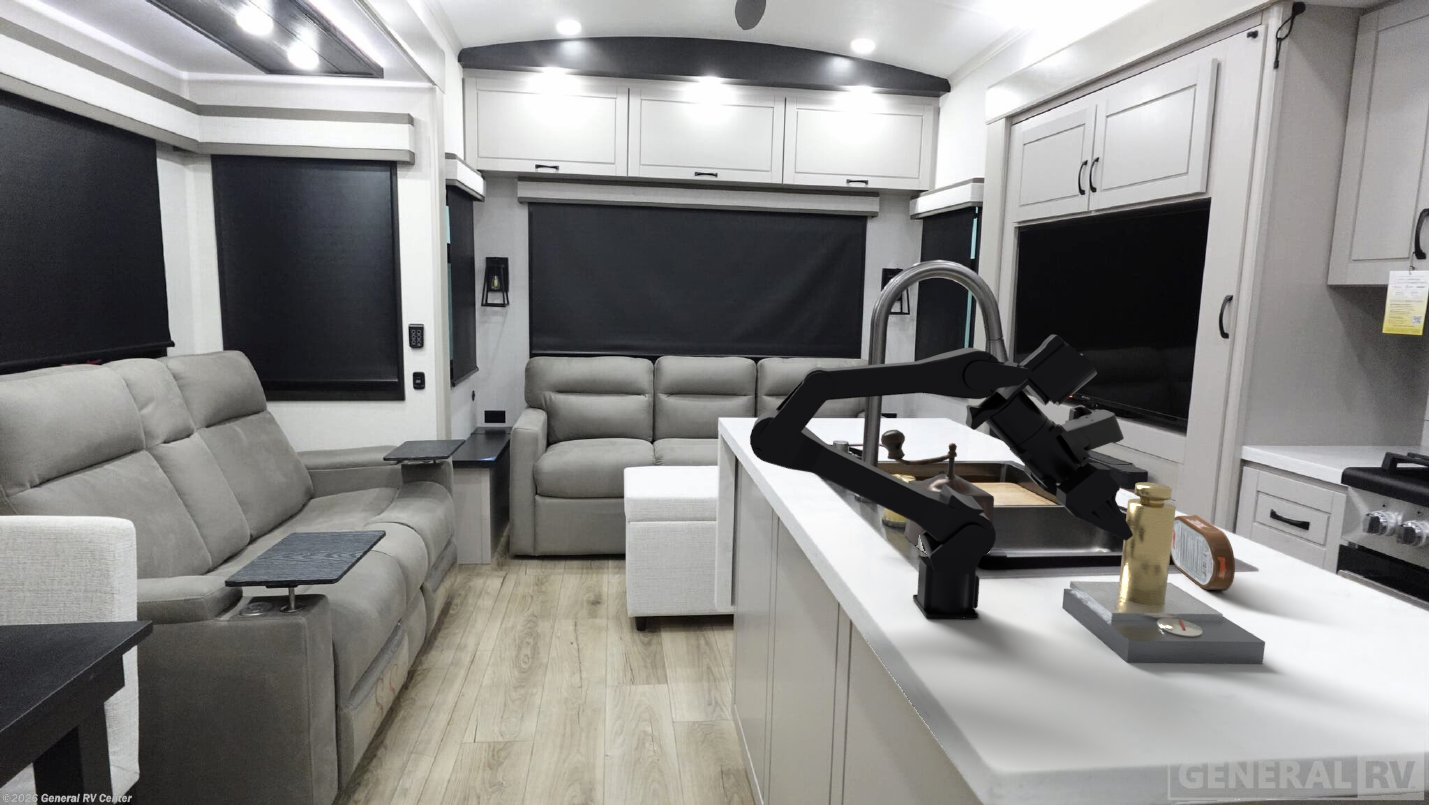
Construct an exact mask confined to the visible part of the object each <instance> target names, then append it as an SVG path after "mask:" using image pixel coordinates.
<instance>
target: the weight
mask: <svg viewBox="0 0 1429 805" xmlns="http://www.w3.org/2000/svg"><path fill="white" fill-rule="evenodd" d="M1172 490H1173V488H1172V487H1171V486H1169V485H1166V484H1161V483H1157V482H1147V481H1146V482H1145V481H1142V482H1137V483H1135V486H1134V495H1135V497H1136V496H1137V497H1139V498H1130V499H1128V500H1127V508H1126V518H1125V520H1126V522H1127V524H1128V525H1129V527H1130V529H1131V531H1132V533H1133V536H1132V537H1131V538H1129V539H1128V540H1123V544H1122V555H1121V563H1120V574H1119V581H1118V582H1119V590H1118V593H1119V595H1120V596H1121V597H1123V598H1125V599H1127V600H1130V601H1133V602H1136V603H1141V604H1147V605H1160V604H1163V603H1164V602H1165V597H1166V588H1167V582H1168V578H1169V570H1170V560H1171V545H1172V537H1173V528H1174V519H1175V517H1176V510H1177V509H1176V508H1177V507H1176V506H1175V505H1173V504H1171V503H1169V502H1166V501H1170V500H1171V499H1172V494H1173V492H1172Z"/></svg>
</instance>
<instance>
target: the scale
mask: <svg viewBox="0 0 1429 805" xmlns="http://www.w3.org/2000/svg"><path fill="white" fill-rule="evenodd" d="M1118 590H1119V581H1084V580H1083V581H1079V580H1078V581H1076V580H1074V581H1070V583H1069V588H1063V595H1062V609H1063V610H1065V611H1066V612H1067V613H1068V614H1069V615H1071V616H1072V617H1073V618H1074V619H1075V620H1076V621H1078V622H1079V623H1080V624H1082V625H1083V627H1085V628H1086V629H1087V630H1088V631H1089V632H1091V633H1092V634H1093V635H1094V636H1095V637H1096V638H1097V639H1099V640H1100V641H1101V642H1103V644H1104V645H1106V646H1107V647H1108V648H1109V649H1110V650H1112V651H1113V652H1114V653H1115V654H1116V655H1118V656H1119V657H1120V658H1121V659H1122V660H1124V661H1125V662H1126V663H1148V664H1149V663H1150V664H1151V663H1152V664H1153V663H1155V664H1157V663H1158V664H1161V663H1162V664H1163V663H1166V664H1179V663H1180V664H1243V665H1244V664H1247V665H1248V664H1249V665H1250V664H1251V665H1253V664H1257V665H1258V664H1259V665H1261V664H1262V665H1263V662H1264V656H1265V648H1266V646H1265V645H1266V641H1264V640H1263V639H1261V638H1259V637H1258V636H1257V635H1255V634H1253V633H1252V632H1249V631H1248V630H1246V629H1245V628H1244V627H1241V626H1240V625H1239V624H1236V623H1235V622H1233V621H1232V620H1231V619H1228V618H1226V617H1225V616H1224V614H1223V613H1222V612H1220V611H1218V610H1217V609H1215V608H1213V607H1212V606H1210V605H1209V604H1207V603H1206V602H1204V601H1202V600H1200V599H1199V598H1197V597H1195V596H1193V595H1192V594H1190V593H1189V592H1187V591H1185V590H1184V589H1182V588H1180V587H1179V586H1177V585H1175V584H1174V583H1173V582H1168V581H1167V588H1166V597H1165V602H1164V603H1163V604H1160V605H1147V604H1141V603H1136V602H1133V601H1130V600H1127V599H1125V598H1123V597H1121V596H1120V595H1119V593H1118Z"/></svg>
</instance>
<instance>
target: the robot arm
mask: <svg viewBox="0 0 1429 805" xmlns="http://www.w3.org/2000/svg"><path fill="white" fill-rule="evenodd" d="M1097 374H1098V372H1097V369H1096V367H1095V366H1094V365H1093V364H1092V363H1091V361H1090V360H1089V358H1087V356H1086V355H1084V354H1083V353H1080V352H1079V351H1078V350H1076V349H1075V348H1074V347H1073V346H1071V344H1069V343H1067V342H1066V341H1065V340H1063V339H1062V337H1060V335H1057V334H1050V335H1049V336H1048V337H1047V338H1046V339H1044V341H1043V342H1042V343H1041V345H1040V346H1039V347H1038V348H1037V349H1035V351H1033V352H1031V354H1029V356H1027V357H1026V358H1025V359H1024V360H1023V361H1021V362H1020V363H1018V362H1013V361H1011V360H1007V361H1006V362H1004V361H1000V360H999V359H998V358H997V357H996V356H995V355H994V354H992V353H990V352H988V351H984V350H981V349H979V348H975V347H974V348H973V347H964V348H959V349H956V350H951V351H947V352H944V353H940V354H937V355H933V356H931V357H927V358H923V359H920V360H916V361H906V362H894V363H892V362H891V363H880V364H869V365H868V364H867V365H856V366H855V365H854V366H842V367H832V368H831V367H829V368H828V367H827V368H826V367H822V366H821V367H819V366H818V367H812V368H810V369H809V370H807V372H806V373H805V374H804V376H803V378H802V380H801V381H800V382H799V383H798V384H797V385H796V386H795V387H794V388H793V389H792V390H791V392H790V393H789V394H788V395H787V396H786V397H785V398H784V399H783V400H782V401H781V402H780V404H779V405H778V406H777V407H776V408H775V409H771V410H767V411H765V412H763V413H762V414H760V415H759V416H758V417H757V419H756V420H755V421H754V424H753V427H752V429H751V432H750V436H749V443H750V446H751V450H752V452H753V454H754V455H755V456H756V458H758V459H759V460H761V461H762V462H765V463H768V464H771V465H774V466H777V467H781V468H784V469H789V470H792V471H793V470H794V471H798V472H805V473H811V474H814V475H816V476H818V477H820V478H822V479H825V480H827V481H828V482H831V483H833V484H835V485H837V486H839V487H841V488H843V489H845V490H848V491H849V492H851V493H854V494H856V495H858V496H859V497H862V498H864V499H865V500H868V501H870V502H873V503H874V504H876V505H879V506H880V507H882V508H884V509H887V510H889V511H891V512H893V513H895V514H897V515H899V516H901V517H903V518H905V519H906V518H907V519H909V520H911V521H913V522H915V523H916V524H918V525H919V526H920V527H921V528H922V529H924V530H925V531H924V532H923V533H922V534H921V535H920V539H921V542H922V546H923V549H924V551H926V553H927V554H926V556H919V559H918V560H919V562H918V575H917V576H918V578H917V579H918V580H917V593H916V594H912V599H913V601H914V602H915V604H916V605H917V606H918V608H919V609H920V611H921V612H922V614H923V615H924V617H926V618H928V619H979V613H978V612H977V610H976V609H977V608H978V606H979V594H980V593H979V592H980V591H979V590H980V577H979V576H978V574H977V567H978V566H979V564H980V562H981V560H982V558H983V557H984V556H985V554H986V555H988V554H987V553H988V552H989V551H990V550H991V551H992V548H994V545H995V543H996V539H997V538H996V537H997V536H996V534H997V533H996V530H995V529H996V528H995V526H994V524H992V523H991V522H990V520H989V519H988V518H987V517H986V516H985V514H984V513H983V512H984V510H983V509H982V508H981V507H980V506H979V504H978V503H977V502H976V501H975V500H974V499H973V497H972V496H965V495H962V494H959V493H957V492H956V491H954V490H953V489H951V488H950V487H949V486H947V485H945V484H944V485H943V487H942V490H941V493H934V492H928V491H924V490H922V489H920V488H918V487H916V486H913V485H911V484H909V483H908V482H907V481H905V480H903V479H901V478H900V477H899V478H898V477H897V476H895V475H892V474H891V473H889V472H886V471H885V470H882V469H880V468H878V467H876V466H874V465H872V464H870V463H868V462H865V461H864V460H862V459H860V458H857V457H855V456H853V455H851V454H850V453H848V452H846V451H843V450H841V449H839V448H836V447H835V446H832V445H830V444H828V443H826V442H825V441H823V439H821V438H820V437H819V436H818V435H817V434H815V433H814V432H813V431H812V430H811V429H809V428H808V427H807V425H808V424H809V423H810V421H811V420H812V419H813V418H814V417H815V415H816V414H817V412H818V411H820V409H821V408H822V407H823V405H824V404H825V403H826V402H827V401H829V400H830V401H831V400H832V401H833V400H842V399H843V400H844V399H857V398H869V397H870V398H871V397H885V396H887V397H888V396H896V395H897V396H898V395H899V396H900V395H911V394H912V395H913V394H914V395H915V394H928V395H930V394H931V395H936V396H942V397H949V398H960V399H970V400H982V399H983V400H982V401H981V402H980V403H979V404H977V405H972V404H967V405H966V420H965V424H966V426H967V427H969V428H970V429H971V430H974V431H975V430H977V429H979V427H981V426H982V425H983V424H985V423H986V424H987V426H988V427H989V428H990V429H991V430H992V431H993V432H994V433H995V434H996V435H997V436H998V437H999V439H1001V441H1002V442H1003V443H1004V444H1005V445H1006V446H1007V447H1008V448H1009V451H1010V452H1011V453H1012V454H1013V455H1014V456H1015V457H1016V458H1018V459H1019V460H1020V461H1021V463H1022V464H1024V468H1023V472H1024V473H1025V474H1026V475H1027V476H1028V477H1029V478H1030V479H1031V480H1032V481H1033V483H1034V484H1036V485H1037V486H1038V487H1040V488H1041V490H1043V491H1044V492H1047V493H1048V494H1050V495H1052V496H1054V497H1055V498H1056V500H1057V501H1058V502H1059V503H1060V504H1061V505H1062V507H1064V508H1065V510H1066V511H1067V512H1068V513H1070V514H1071V515H1072V516H1074V517H1075V518H1076V519H1078V520H1081V521H1083V522H1085V523H1087V524H1090V525H1092V526H1094V527H1096V528H1098V529H1100V530H1102V531H1105V532H1106V533H1108V534H1111V535H1113V536H1116V537H1117V538H1119V539H1121V540H1123V541H1124V540H1128V539H1129V538H1131V537H1132V536H1133V533H1132V531H1131V529H1130V527H1129V525H1128V524H1127V522H1126V518H1125V516H1124V515H1123V512H1122V511H1121V509H1120V506H1119V505H1118V503H1117V500H1116V499H1117V494H1118V492H1119V491H1120V490H1121V485H1122V483H1123V481H1122V480H1121V479H1120V478H1119V477H1118V476H1117V475H1116V473H1115V472H1114V471H1112V469H1111V468H1109V467H1107V466H1105V465H1104V464H1102V463H1099V462H1098V463H1097V462H1087V463H1085V464H1084V465H1083V463H1084V462H1085V461H1086V460H1088V459H1089V458H1090V457H1091V454H1089V453H1088V452H1087V451H1091V450H1095V449H1097V448H1101V447H1103V446H1106V445H1108V444H1112V443H1113V444H1116V443H1119V442H1122V441H1123V440H1124V438H1125V437H1124V434H1123V431H1122V430H1121V427H1120V424H1119V422H1118V419H1117V416H1116V414H1115V413H1114V412H1111V411H1110V410H1106V409H1097V408H1096V409H1094V411H1093V412H1092V410H1090V409H1089V408H1088V407H1087V406H1085V405H1082V404H1079V405H1077V406H1074V407H1071V408H1069V412H1068V419H1067V420H1065V423H1063V424H1059V423H1057V424H1056V422H1054V421H1053V420H1052V419H1050V418H1049V417H1048V416H1047V415H1046V414H1045V413H1044V412H1043V411H1042V409H1041V408H1040V407H1038V405H1037V404H1036V403H1035V402H1034V401H1033V400H1032V399H1031V398H1030V397H1029V395H1027V393H1026V392H1025V391H1024V390H1025V389H1026V390H1027V391H1028V392H1029V393H1030V394H1031V395H1032V396H1033V397H1034V398H1035V399H1036V400H1037V401H1038V402H1039V403H1041V404H1042V405H1043V406H1047V405H1048V404H1049V403H1052V405H1056V406H1061V405H1062V404H1063V403H1064V402H1066V401H1067V400H1068V399H1069V398H1071V396H1072V395H1074V394H1075V393H1076V392H1077V391H1079V390H1080V389H1081V388H1082V387H1084V386H1085V385H1086V384H1087V383H1088V382H1090V381H1091V380H1093V378H1094V377H1095V376H1096V375H1097ZM1001 388H1002V389H1003V388H1006V389H1005V390H1004V391H1002V392H999V391H998V389H1001Z"/></svg>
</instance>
